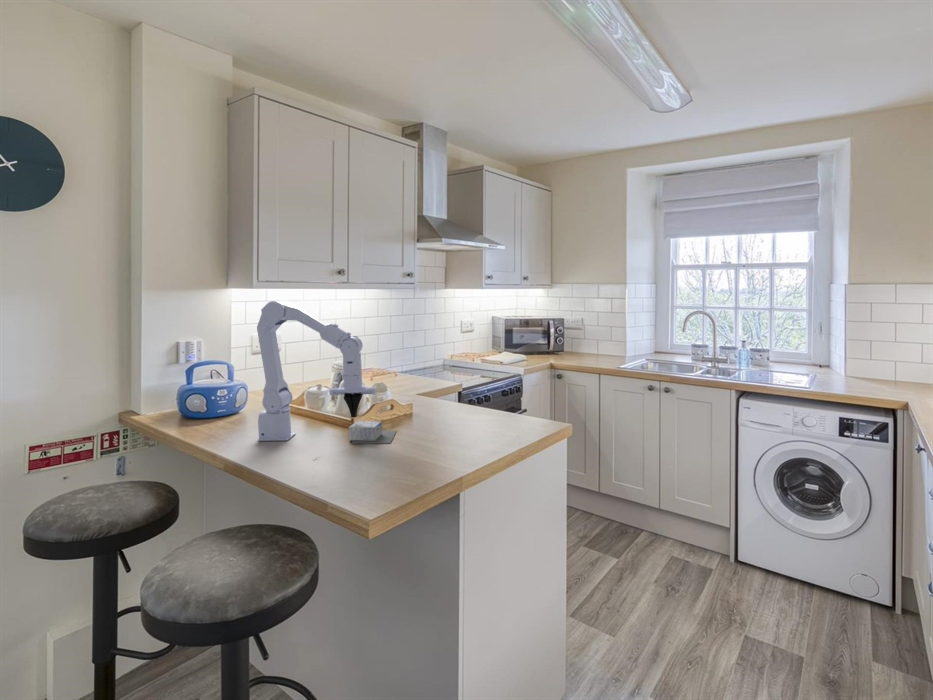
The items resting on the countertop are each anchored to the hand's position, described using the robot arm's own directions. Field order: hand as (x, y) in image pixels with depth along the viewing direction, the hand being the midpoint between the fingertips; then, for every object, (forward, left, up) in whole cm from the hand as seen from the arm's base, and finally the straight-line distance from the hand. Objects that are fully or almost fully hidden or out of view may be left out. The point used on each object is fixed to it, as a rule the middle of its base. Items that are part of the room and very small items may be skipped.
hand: (354, 416), depth 164 cm
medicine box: (-1, 0, -4) cm, 4 cm away
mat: (+6, 0, -7) cm, 9 cm away
